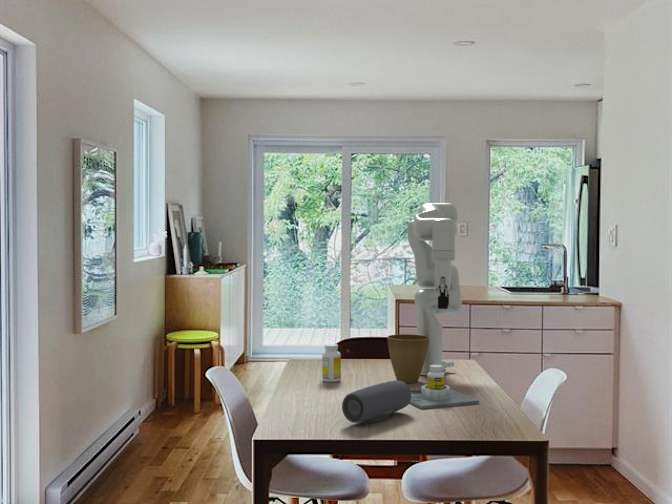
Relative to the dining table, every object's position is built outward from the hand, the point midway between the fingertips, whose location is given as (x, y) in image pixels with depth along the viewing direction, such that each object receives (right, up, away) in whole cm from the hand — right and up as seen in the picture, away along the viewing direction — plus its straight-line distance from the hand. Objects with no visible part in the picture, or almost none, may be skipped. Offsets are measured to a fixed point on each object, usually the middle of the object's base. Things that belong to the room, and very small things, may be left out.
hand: (443, 307), depth 261 cm
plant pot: (-10, -28, +18) cm, 35 cm away
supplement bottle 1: (-37, -28, +19) cm, 51 cm away
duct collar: (-4, -29, -11) cm, 31 cm away
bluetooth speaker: (-24, -30, -35) cm, 52 cm away
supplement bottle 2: (-4, -28, -11) cm, 30 cm away
